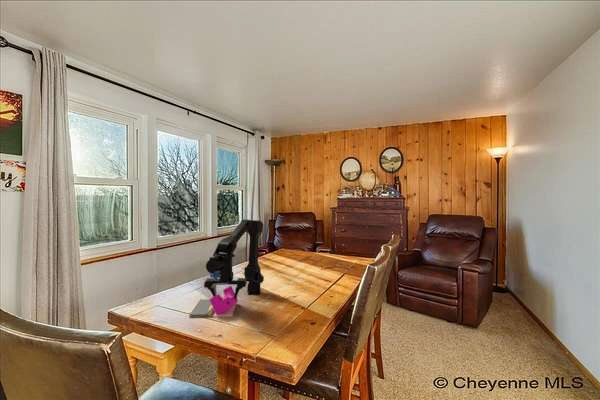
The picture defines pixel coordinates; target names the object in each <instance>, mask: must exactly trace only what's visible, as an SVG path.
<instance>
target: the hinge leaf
mask: <svg viewBox="0 0 600 400" xmlns="http://www.w3.org/2000/svg"><path fill="white" fill-rule="evenodd" d="M209 299H210V298H208V299H206V298H205V299H203V298H201V299H199V300H198V302H197V303H196V305H195V306H194V308H193V309H192V310H191V312H190V313H189V316H188V317H189V318H207V317H212V315H213V313H214V312H215V310H214V308H213V306H212V304H211V302H210V300H209Z"/></svg>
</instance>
